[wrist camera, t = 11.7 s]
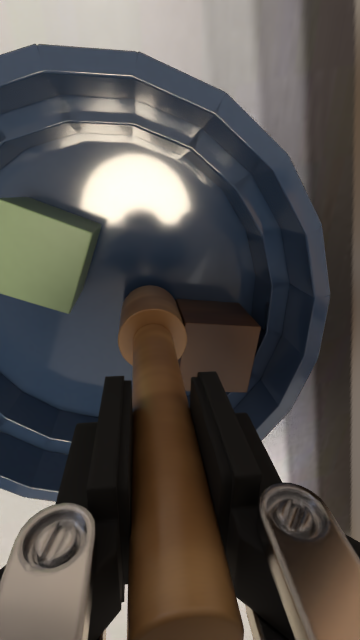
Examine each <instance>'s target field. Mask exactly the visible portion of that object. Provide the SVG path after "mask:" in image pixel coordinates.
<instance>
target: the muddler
mask: <svg viewBox="0 0 360 640" xmlns="http://www.w3.org/2000/svg"><path fill="white" fill-rule="evenodd" d="M186 345H187V333H186V329H185V326H184V324H183V321H182V318H181V315H180V313H179V310H178V307H177V304H176V302H175V300H174V298H173V296H172V295H171V294H170V293H169V292H168V291H166V290H165V289H163V288H161V287H158V286H153V285H147V286H142V287H139V288H137V289H135V290H133V291H132V292H131V293H129V295H128V296H127V297H126V298H125V300H124V302H123V305H122V310H121V318H120V326H119V334H118V346H119V350H120V352H121V354H122V356H123V357H124V359H125V360H126V361H127V362H128V363H129V364H131V365H132V366H133V381H132V407H133V427H132V485H131V534H130V538H129V568H128V614H127V640H243V637H244V628H243V623H242V619H241V615H240V611H239V607H238V603H237V599H236V595H235V590H234V586H233V582H232V578H231V574H230V570H229V566H228V562H227V558H226V554H225V550H224V546H223V542H222V538H221V534H220V530H219V526H218V522H217V518H216V514H215V510H214V506H213V502H212V498H211V494H210V489H209V485H208V481H207V477H206V473H205V469H204V465H203V461H202V457H201V453H200V449H199V445H198V441H197V437H196V432H195V428H194V424H193V420H192V416H191V412H190V408H189V404H188V400H187V396H186V392H185V388H184V383H183V379H182V375H181V371H180V367H179V363H178V360H179V359H180V357H181V356H182V354H183V353H184V351H185V348H186Z"/></svg>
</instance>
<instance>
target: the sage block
mask: <svg viewBox="0 0 360 640" xmlns="http://www.w3.org/2000/svg"><path fill="white" fill-rule="evenodd" d="M100 230H101V224H99V223H96V222H93V221H91V220H88V219H85V218H83V217H80V216H77V215H75V214H72V213H69V212H67V211H64V210H61V209H59V208H56V207H53V206H51V205H48V204H45V203H42V202H40V201H37V200H34V199H32V198H29V197H13V198H0V294H3V295H6V296H10V297H13V298H16V299H20V300H23V301H27V302H30V303H33V304H37V305H40V306H43V307H47V308H50V309H53V310H57V311H60V312H63V313H67V314H69V313H70V312H71V310H72V308H73V307H74V305H75V303H76V301H77V299H78V297H79V296H80V294H81V292H82V290H83V287H84V283H85V280H86V277H87V273H88V270H89V267H90V263H91V260H92V257H93V253H94V250H95V246H96V243H97V240H98V236H99V233H100Z"/></svg>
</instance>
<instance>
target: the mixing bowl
mask: <svg viewBox="0 0 360 640" xmlns="http://www.w3.org/2000/svg"><path fill="white" fill-rule="evenodd" d="M13 197H29V198H32V199H34V200H37V201H40V202H42V203H45V204H48V205H51V206H53V207H56V208H59V209H61V210H64V211H67V212H69V213H72V214H75V215H77V216H80V217H83V218H85V219H88V220H91V221H93V222H96V223H99V224H101V230H100V233H99V236H98V240H97V243H96V246H95V250H94V253H93V257H92V260H91V263H90V267H89V270H88V273H87V277H86V280H85V283H84V287H83V290H82V292H81V294H80V296H79V297H78V299H77V301H76V303H75V305H74V307H73V308H72V310H71V312H70V313H69V314H67V313H63V312H60V311H57V310H53V309H50V308H47V307H43V306H40V305H37V304H33V303H30V302H27V301H23V300H20V299H16V298H13V297H10V296H6V295H3V294H0V488H1V489H4V490H6V491H9V492H12V493H14V494H17V495H19V496H22V497H27V498H32V499H39V500H47V501H54V502H56V500H57V496H58V492H59V488H60V485H61V481H62V477H63V473H64V469H65V465H66V461H67V458H68V454H69V450H70V446H71V442H72V438H73V435H74V431H75V427H76V425H77V424H78V423H89V422H98V417H99V411H100V405H101V399H102V393H103V387H104V381H105V377H106V376H124V380H131V383H132V381H133V366H132V365H131V364H129V363H128V362H127V361H126V360H125V359H124V357H123V356H122V354H121V352H120V350H119V346H118V334H119V326H120V318H121V310H122V305H123V302H124V300H125V298H126V297H127V296H128V295H129V293H131V292H132V291H133V290H135V289H137V288H139V287H142V286H147V285H153V286H158V287H161V288H163V289H165V290H166V291H168V292H169V293H170V294H171V295H172V296H173V298H174V300H175V302H176V299H189V300H203V301H218V302H232V303H239V304H240V305H241V306H242V307H243V308H244V309H245V310H246V311H247V312H248V313H249V315H250V316H251V317H252V318H253V319H254V320H255V321H256V322H257V323H258V324H259V325H260V326H261V330H260V334H259V339H258V344H257V349H256V353H255V358H254V363H253V367H252V372H251V377H250V382H249V386H248V391H247V393H243V392H226V394H227V397H228V399H229V401H230V403H231V406H232V408H233V410H234V412H235V413H244V412H245V413H247V414H248V416H249V417H250V419H251V421H252V423H253V425H254V427H255V429H256V431H257V433H258V435H259V437H260V439H261V441H262V440H263V439H264V438H265V437H266V436H267V435H268V434H269V432H270V431H271V430H272V429H273V428H274V427H275V426H276V425H277V424H278V423H279V422H280V421H281V420H282V419H283V418H284V417H285V416H286V415H287V414H288V413H289V412H290V410H291V409H292V407H293V405H294V403H295V401H296V399H297V397H298V395H299V394H300V392H301V390H302V388H303V386H304V384H305V382H306V380H307V379H308V377H309V375H310V373H311V371H312V369H313V367H314V365H315V364H316V362H317V360H318V357H319V352H320V347H321V342H322V337H323V332H324V327H325V322H326V317H327V311H328V306H329V301H330V288H329V279H328V271H327V263H326V254H325V246H324V238H323V230H322V227H321V226H322V224H321V222H320V220H319V218H318V215H317V213H316V211H315V209H314V207H313V205H312V203H311V201H310V199H309V197H308V195H307V193H306V190H305V188H304V186H303V184H302V182H301V180H300V178H299V176H298V174H297V172H296V170H295V168H294V166H293V163H292V161H291V159H290V157H289V156H288V154H287V153H286V152H285V151H284V150H283V149H282V148H281V147H280V146H279V145H278V144H277V143H276V142H275V141H274V140H273V139H272V138H271V137H270V136H269V135H268V134H267V133H266V132H265V131H264V130H263V129H262V128H261V127H260V126H259V125H258V124H257V123H256V122H255V121H254V120H253V119H252V118H251V117H250V116H249V115H248V114H247V113H246V112H245V111H244V110H243V109H242V108H241V107H240V106H239V105H238V104H237V103H236V102H235V101H234V100H233V99H232V98H231V97H230V96H229V95H228V94H227V93H225V92H224V91H222V90H220V89H218V88H216V87H213V86H211V85H209V84H207V83H205V82H203V81H201V80H198V79H196V78H194V77H192V76H190V75H188V74H186V73H184V72H181V71H179V70H177V69H175V68H173V67H171V66H169V65H167V64H164V63H162V62H160V61H158V60H156V59H154V58H152V57H149V56H147V55H145V54H143V53H141V52H138V53H137V52H135V51H125V50H112V49H99V48H86V47H73V46H59V45H46V44H38V45H36V44H33V45H30V46H26V47H23V48H20V49H17V50H14V51H11V52H8V53H5V54H2V55H0V198H13ZM185 392H186V396H187V400H188V404H189V408H190V391H185Z"/></svg>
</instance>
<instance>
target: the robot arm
mask: <svg viewBox="0 0 360 640" xmlns="http://www.w3.org/2000/svg"><path fill="white" fill-rule="evenodd" d="M190 412H191V416H192V420H193V424H194V428H195V432H196V437H197V441H198V445H199V449H200V453H201V457H202V461H203V465H204V469H205V473H206V477H207V481H208V485H209V489H210V494H211V498H212V502H213V506H214V510H215V514H216V518H217V522H218V526H219V530H220V534H221V538H222V542H223V546H224V550H225V554H226V558H227V562H228V566H229V570H230V574H231V578H232V582H233V586H234V590H235V595H236V597H237V598H238V599H239V600H241V601H242V602H243V603H244V604H245V606H246V613H247V617H248V621H249V625H250V628H251V632H252V636H253V640H360V542H358V541H356V540H354V539H353V538H351V537H349V536H347V535H346V534H344V533H343V531H342V530H341V528H340V526H339V525H338V523H337V521H336V520H335V518H334V517H333V515H332V513H331V512H330V510H329V508H328V507H327V506H326V505H325V503H324V502H323V501H322V500H321V498H319V497H318V496H317V495H316V494H314V493H313V492H312V491H310V490H308V489H306V488H304V487H302V486H300V485H296V484H292V483H282V481H281V479H280V477H279V475H278V473H277V471H276V469H275V467H274V465H273V463H272V461H271V459H270V457H269V455H268V453H267V451H266V449H265V447H264V445H263V443H262V441H261V439H260V437H259V435H258V433H257V431H256V429H255V427H254V425H253V423H252V421H251V419H250V417H249V416H248V414H247V413H245V412H244V413H235V412H234V410H233V408H232V406H231V403H230V401H229V399H228V397H227V394H226V392H225V390H224V388H223V385H222V383H221V381H220V379H219V376H218V374H217V372H216V371H210V372H198V373H197V377H191V391H190ZM132 427H133V407H132V383H131V380H124V376H106V377H105V381H104V387H103V393H102V399H101V405H100V411H99V417H98V422H89V423H78V424H77V425H76V427H75V431H74V435H73V438H72V442H71V446H70V450H69V454H68V458H67V461H66V465H65V469H64V473H63V477H62V481H61V485H60V488H59V492H58V496H57V500H56V504H55V505H52V506H49V507H47V508H45V509H43V510H41V511H39V512H38V513H37V514H35V515H34V516H33V517H31V518H30V519H29V520H28V521H27V523H26V524H25V525H24V526H23V527H22V528H21V530H20V532H19V534H18V536H17V538H16V540H15V542H14V545H13V547H12V550H11V553H10V556H9V559H8V561H7V564H6V565H5V566H4V567H3V568H2V569H0V640H106V628H107V627H108V625H109V624H110V623H111V622H112V620H113V619H114V618H115V617H116V615H117V614H118V613H119V612H120V610H121V602H124V589H125V584H128V568H129V538H130V534H131V485H132Z"/></svg>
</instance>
